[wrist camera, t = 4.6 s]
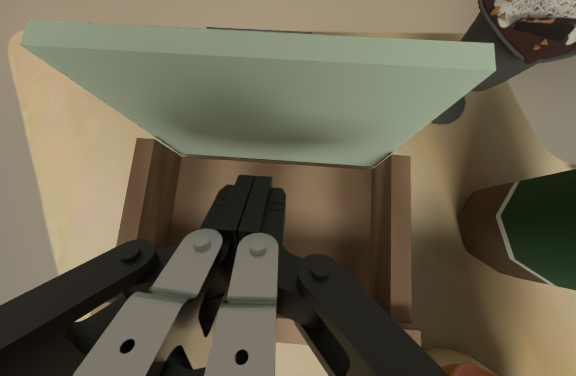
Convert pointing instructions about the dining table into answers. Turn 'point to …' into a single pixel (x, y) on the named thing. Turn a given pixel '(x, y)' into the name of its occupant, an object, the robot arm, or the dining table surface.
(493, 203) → the beer bottle
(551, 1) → the sundae
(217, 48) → the pale green panel
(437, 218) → the dining table surface
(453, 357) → the cake
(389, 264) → the wooden box
